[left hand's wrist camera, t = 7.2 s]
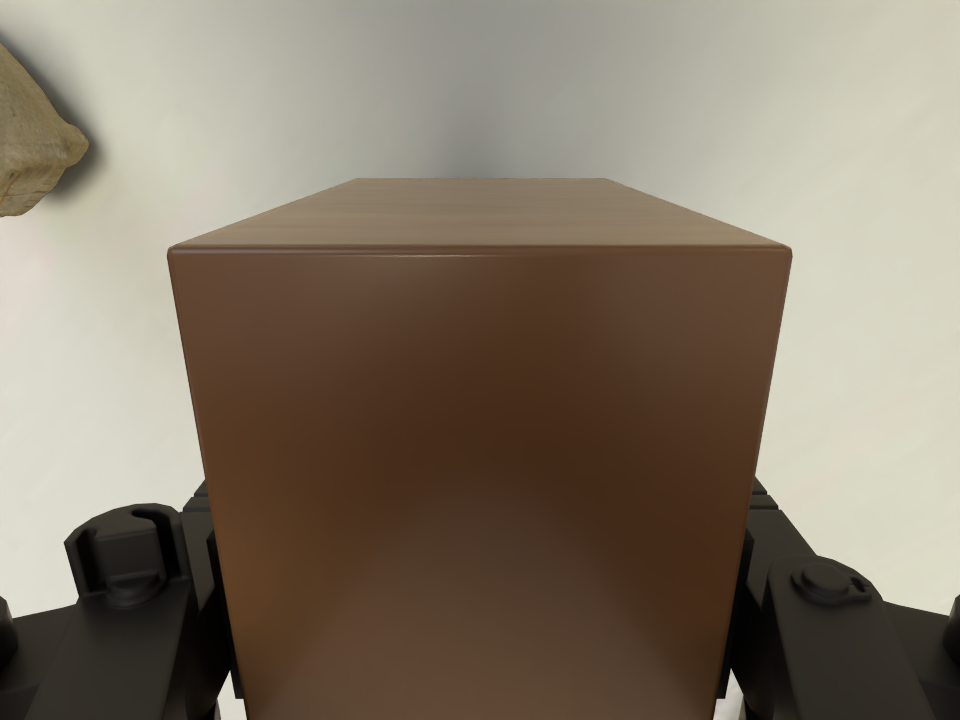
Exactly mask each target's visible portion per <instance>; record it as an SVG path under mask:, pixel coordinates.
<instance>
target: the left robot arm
mask: <svg viewBox="0 0 960 720" xmlns="http://www.w3.org/2000/svg"><path fill="white" fill-rule="evenodd" d="M64 545H65V549H66V552H67V556H68V559H69V563H70V567H71V570H72V574H73V577H74V581H75V584H76V588H77V591H78V595H79V598H78V600H77V603H76V604H74V605H71V606H67V607H64V608H59V609H54V610H50V611H45V612H40V613H36V614H31V615H26V616H22V617H17V618H12V616H11V613H10V610H9V607H8V604H7V601H6V600H5V599H3V598H2V597H1V596H0V720H221V716H220V710H219V705H218V700H217V697H218V695H219V693H220V691H221V688H222V686H223V684H224V682H225V680H226V678H227V675H228V673H229V671H230V672H231V677H232V683H233V688H234V693H235V699H243V694H242V688H241V682H240V676H239V671H238V665H237V659H236V653H235V647H234V642H233V636H232V630H231V624H230V619H229V613H228V607H227V601H226V595H225V590H224V584H223V578H222V572H221V566H220V561H219V555H218V549H217V543H216V538H215V532H214V526H213V520H212V514H211V509H210V503H209V497H208V491H207V486H206V480H204V481H203V483H202V484H201V485H200V487H199V488H198V489H197V490H196V492H195V493H194V497H191V498H190V500H189V501H188V502H187V503H186V505H185V506H184V507H183V512H177V511H176V510H175V509H174V508H172V507H171V506H167V505H162V504H157V503H148V504H134V505H129V506H125V507H121V508H116V509H113V510H110V511H108V512H105V513H103V514H101V515H98V516H96V517H93V518H91V519H90V520H88V521H87V522H85V523H84V524H82V525H81V526H79V527H78V528H76V529H75V530H74V531H73V532H72V533H71V534H70V536H69V537H68V538H67V539H66V540H65V541H64ZM731 669H732V671H733V673H734V675H735V677H736V680H737V682H738V684H739V686H740V688H741V690H742V693H743V700H742V705H741V710H740V715H739V720H960V595H959V596H957V597H956V598H955V601H954V604H953V607H952V610H951V613H950V616H947V615H942V614H938V613H933V612H928V611H924V610H919V609H914V608H910V607H905V606H900V605H896V604H893V603H889V602H885V601H883V599H882V597H881V595H880V594H879V592H878V591H877V590H876V588H875V587H874V586H873V584H872V583H871V582H870V581H869V580H867V579H866V578H865V577H864V576H862V575H861V574H860V573H858V572H857V571H856V570H854V569H852V568H850V567H848V566H846V565H844V564H842V563H839V562H837V561H835V560H833V559H829V558H825V557H821V556H817V555H816V554H815V552H814V551H813V550H812V549H811V547H810V546H809V545H808V543H807V542H806V541H805V540H804V538H803V537H802V536H801V534H800V533H799V532H798V531H797V529H796V528H795V527H794V525H793V524H792V523H791V522H790V520H789V519H788V518H787V517H786V515H785V514H784V513H783V511H782V510H779V509H778V505H777V504H776V502H775V501H774V500H773V499H772V497H771V496H770V495H767V491H766V490H765V488H764V487H763V486H762V484H761V483H760V482H759V481H758V479H757V478H756V477H755V478H754V484H753V490H752V496H751V502H750V507H749V513H748V519H747V525H746V531H745V537H744V542H743V548H742V554H741V560H740V566H739V572H738V577H737V583H736V589H735V595H734V601H733V607H732V612H731V618H730V624H729V630H728V636H727V642H726V647H725V653H724V659H723V665H722V671H721V677H720V682H719V688H718V694H717V699H725V696H726V691H727V686H728V680H729V675H730V670H731Z"/></svg>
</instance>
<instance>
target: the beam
mask: <svg viewBox="0 0 960 720" xmlns="http://www.w3.org/2000/svg"><path fill="white" fill-rule="evenodd" d="M792 257H793V256H792V250H791V248H790V247H788V246H786V245H784V244H781V243H778V242H776V241H773V240H770V239H768V238H765V237H762V236H759V235H757V234H754V233H751V232H749V231H746V230H743V229H741V228H738V227H735V226H732V225H730V224H727V223H724V222H722V221H719V220H716V219H713V218H711V217H708V216H705V215H703V214H700V213H697V212H695V211H692V210H689V209H686V208H684V207H681V206H678V205H676V204H673V203H670V202H668V201H665V200H662V199H659V198H657V197H654V196H651V195H649V194H646V193H643V192H640V191H638V190H635V189H632V188H630V187H627V186H624V185H622V184H619V183H616V182H613V181H611V180H608V179H605V178H357V179H354V180H351V181H348V182H346V183H343V184H340V185H337V186H335V187H332V188H329V189H326V190H324V191H321V192H318V193H315V194H313V195H310V196H307V197H305V198H302V199H299V200H296V201H294V202H291V203H288V204H285V205H283V206H280V207H277V208H274V209H272V210H269V211H266V212H263V213H261V214H258V215H255V216H253V217H250V218H247V219H244V220H242V221H239V222H236V223H233V224H231V225H228V226H225V227H222V228H220V229H217V230H214V231H211V232H209V233H206V234H203V235H201V236H198V237H195V238H192V239H190V240H187V241H184V242H181V243H179V244H176V245H174V246H171V247H169V249H168V252H167V260H168V266H169V272H170V277H171V283H172V289H173V295H174V301H175V306H176V312H177V318H178V324H179V330H180V335H181V341H182V347H183V353H184V358H185V364H186V370H187V376H188V382H189V387H190V393H191V399H192V405H193V410H194V416H195V422H196V428H197V434H198V439H199V445H200V451H201V457H202V462H203V468H204V474H205V480H206V486H207V491H208V497H209V503H210V509H211V514H212V520H213V526H214V532H215V538H216V543H217V549H218V555H219V561H220V566H221V572H222V578H223V584H224V590H225V595H226V601H227V607H228V613H229V619H230V624H231V630H232V636H233V642H234V647H235V653H236V659H237V665H238V671H239V676H240V682H241V688H242V694H243V699H244V705H245V711H246V717H247V720H713V717H714V712H715V706H716V700H717V694H718V688H719V682H720V677H721V671H722V665H723V659H724V653H725V647H726V642H727V636H728V630H729V624H730V618H731V612H732V607H733V601H734V595H735V589H736V583H737V577H738V572H739V566H740V560H741V554H742V548H743V542H744V537H745V531H746V525H747V519H748V513H749V507H750V502H751V496H752V490H753V484H754V478H755V472H756V467H757V461H758V455H759V449H760V443H761V437H762V432H763V426H764V420H765V414H766V408H767V402H768V397H769V391H770V385H771V379H772V373H773V367H774V362H775V356H776V350H777V344H778V338H779V332H780V327H781V321H782V315H783V309H784V303H785V297H786V292H787V286H788V280H789V274H790V268H791V262H792Z"/></svg>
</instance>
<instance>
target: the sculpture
mask: <svg viewBox="0 0 960 720" xmlns="http://www.w3.org/2000/svg"><path fill="white" fill-rule="evenodd" d="M88 147H89V142H88V140H87V138H86V137H85V136H84V134H83V133H82V132H81V131H80V130H79V129H78V128H77V127H75V126H74V125H72V124H68V123H66V122H65V121H64V120H63V119H62V118H61V117H60V116H59V115H58V114H57V112H56V111H55V109H54V108H53V106H52V105H51V103H50V101H49V99H48V98H47V96H46V95H45V93H44V92H43V90H42V89H41V88H40V87H39V86H38V84H37V83H36V82H35V81H34V80H33V78H32V77H31V76H30V75H29V73H28V72H27V71H26V70H25V69H24V67H23V66H22V65H21V64H20V63H19V62H18V61H17V60H16V59H15V58H14V57H13V56H12V55H11V54H10V53H9V51H8V50H7V49H6V48H5V47H4V46H3V45H2V44H1V43H0V217H4V216H19V215H22V214H24V213H26V212H27V211H29V210H30V209H32V208H33V207H34V206H35V205H36V204H37V203H38V202H39V201H40V200H41V199H42V198H43V197H44V196H45V195H46V194H47V193H49V192H50V191H52V190H53V189H54V187H55V186H56V185H57V184H58V180H59V179H60V177H61V176H62V174H63V173H64V171H65V169H66V168H68V167H71V166H73V165H75V164H76V163H78V162H79V161H80V159H81V158H82V156H83V155H84V154H85V152H86V151H87V149H88Z"/></svg>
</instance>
